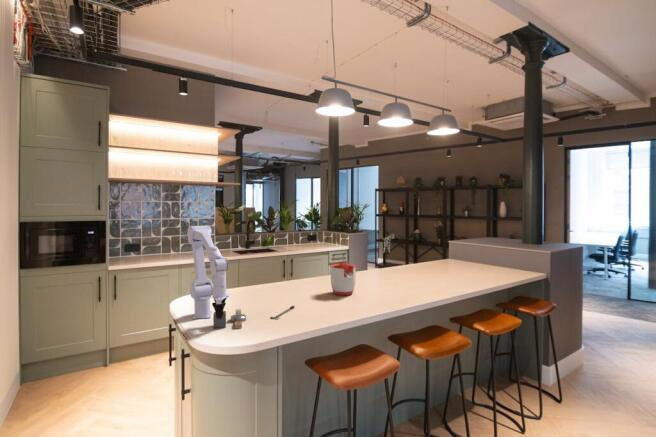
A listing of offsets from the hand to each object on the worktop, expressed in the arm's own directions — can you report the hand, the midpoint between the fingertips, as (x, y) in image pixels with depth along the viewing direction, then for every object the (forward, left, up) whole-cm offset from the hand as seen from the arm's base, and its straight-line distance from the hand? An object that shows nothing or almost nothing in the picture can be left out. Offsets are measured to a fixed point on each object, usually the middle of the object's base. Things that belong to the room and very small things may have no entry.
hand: (219, 315), depth 161 cm
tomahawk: (-12, +31, -5) cm, 34 cm away
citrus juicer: (-43, +70, -5) cm, 82 cm away
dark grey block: (0, 0, -5) cm, 5 cm away
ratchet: (-3, +8, -5) cm, 10 cm away
